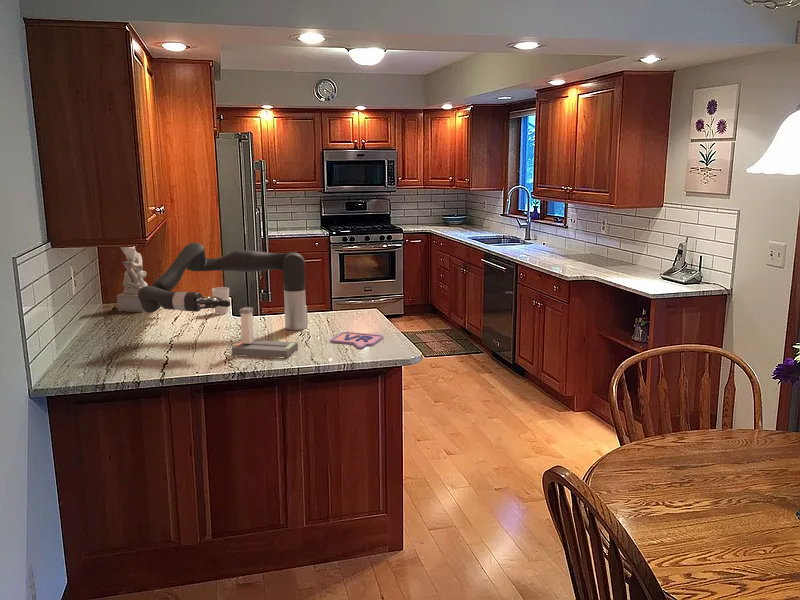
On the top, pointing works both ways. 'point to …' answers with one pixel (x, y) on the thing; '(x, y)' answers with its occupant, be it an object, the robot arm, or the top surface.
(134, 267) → the sculpture
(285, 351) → the switch base
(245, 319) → the handle
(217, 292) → the cup
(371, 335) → the icon
